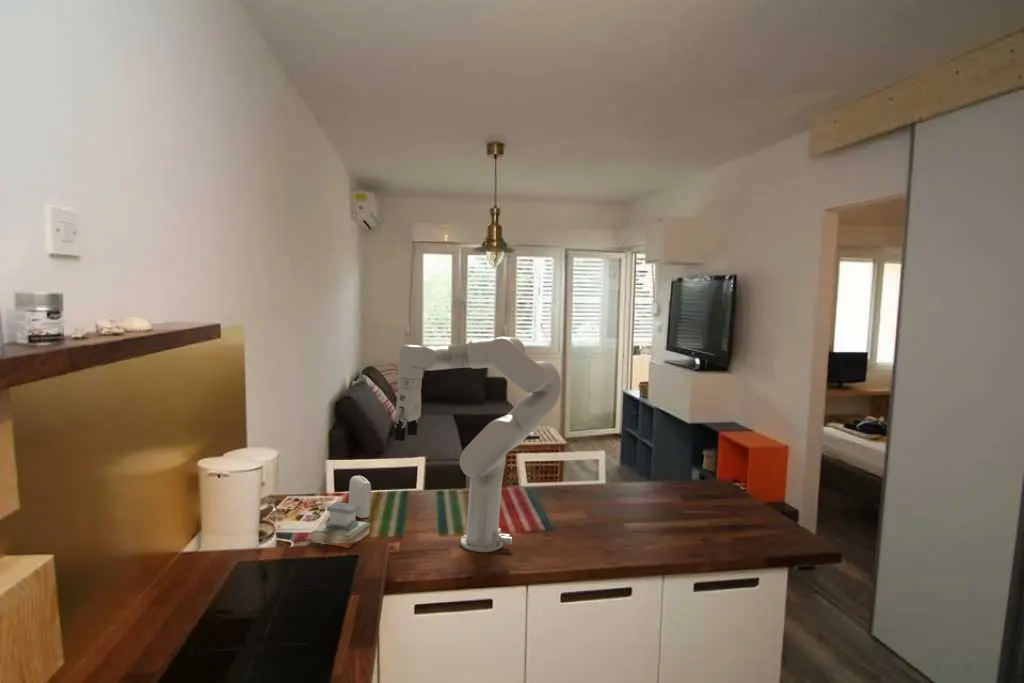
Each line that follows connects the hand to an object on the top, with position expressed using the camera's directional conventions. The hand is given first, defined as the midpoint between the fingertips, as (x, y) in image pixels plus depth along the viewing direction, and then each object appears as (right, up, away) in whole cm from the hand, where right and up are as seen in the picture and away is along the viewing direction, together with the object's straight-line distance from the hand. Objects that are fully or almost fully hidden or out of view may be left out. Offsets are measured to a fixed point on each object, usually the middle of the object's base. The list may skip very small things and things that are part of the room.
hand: (405, 437), depth 167 cm
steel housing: (-16, -24, -12) cm, 31 cm away
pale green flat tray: (-17, -27, -12) cm, 34 cm away
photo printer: (-18, -27, +9) cm, 34 cm away
